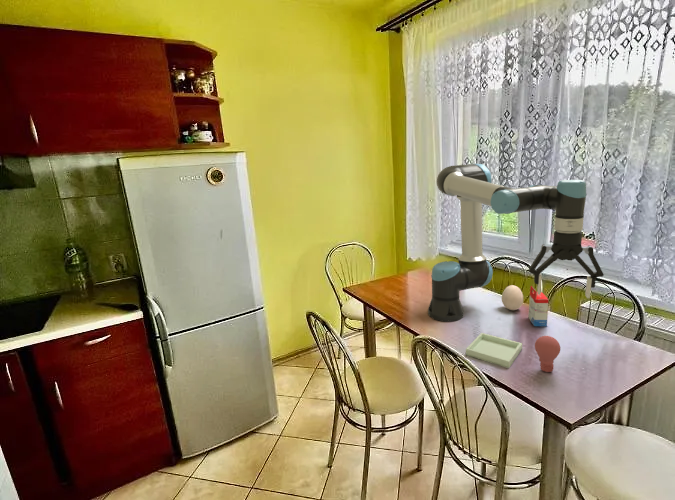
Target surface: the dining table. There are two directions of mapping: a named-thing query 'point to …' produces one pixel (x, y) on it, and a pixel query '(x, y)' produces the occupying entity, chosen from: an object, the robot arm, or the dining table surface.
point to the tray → (494, 350)
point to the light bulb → (547, 352)
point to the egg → (512, 297)
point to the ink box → (538, 308)
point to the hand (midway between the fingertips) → (562, 294)
